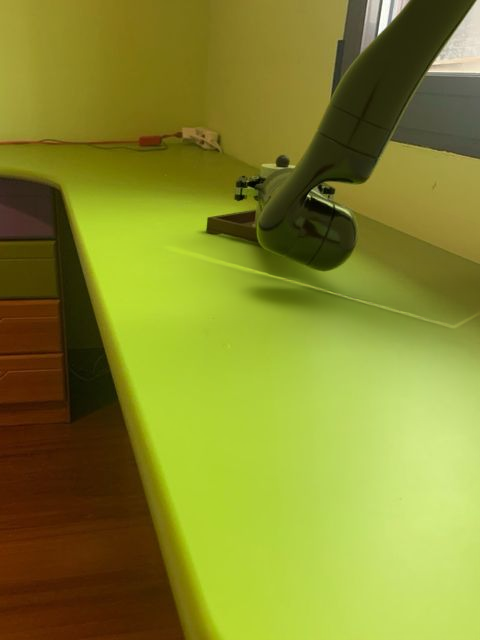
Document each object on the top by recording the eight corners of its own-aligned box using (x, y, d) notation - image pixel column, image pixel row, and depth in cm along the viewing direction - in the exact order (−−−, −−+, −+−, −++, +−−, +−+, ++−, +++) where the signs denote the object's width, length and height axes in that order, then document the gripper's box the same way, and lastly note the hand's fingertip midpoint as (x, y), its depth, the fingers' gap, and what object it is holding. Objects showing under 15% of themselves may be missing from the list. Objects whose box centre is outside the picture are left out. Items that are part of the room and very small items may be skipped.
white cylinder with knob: (267, 224, 108) (277, 151, 103) (304, 232, 104) (315, 156, 99) (243, 229, 104) (251, 153, 99) (279, 237, 100) (290, 158, 95)
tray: (266, 221, 114) (268, 207, 113) (338, 237, 106) (341, 222, 105) (205, 232, 103) (207, 217, 102) (280, 251, 96) (283, 235, 94)
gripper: (351, 176, 87) (330, 160, 102) (237, 168, 87) (232, 153, 102) (340, 236, 90) (321, 212, 105) (231, 228, 90) (227, 205, 105)
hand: (277, 183), depth 103 cm, fingers closed on white cylinder with knob, 6 cm apart
